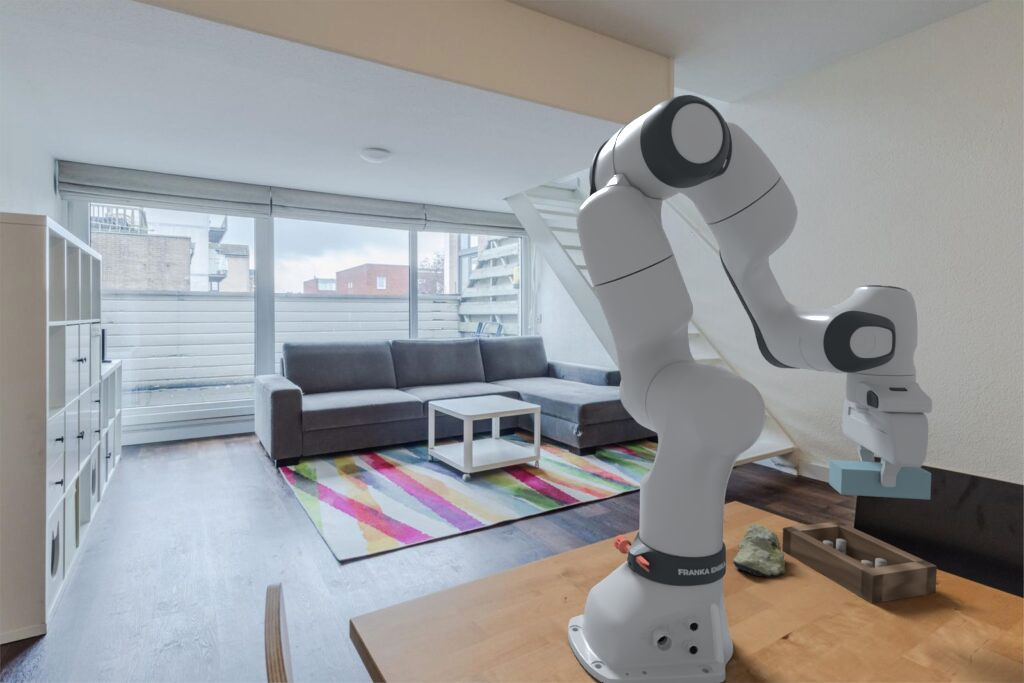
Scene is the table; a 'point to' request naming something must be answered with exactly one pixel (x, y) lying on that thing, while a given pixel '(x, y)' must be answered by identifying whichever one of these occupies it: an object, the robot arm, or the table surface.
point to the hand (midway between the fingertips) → (877, 478)
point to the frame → (884, 582)
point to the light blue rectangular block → (865, 480)
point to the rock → (760, 552)
